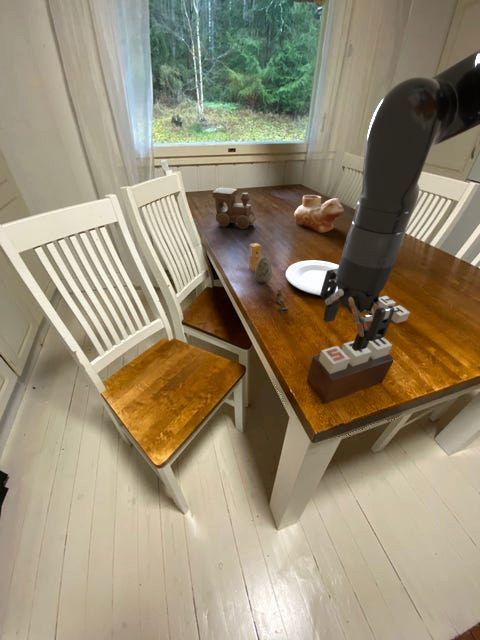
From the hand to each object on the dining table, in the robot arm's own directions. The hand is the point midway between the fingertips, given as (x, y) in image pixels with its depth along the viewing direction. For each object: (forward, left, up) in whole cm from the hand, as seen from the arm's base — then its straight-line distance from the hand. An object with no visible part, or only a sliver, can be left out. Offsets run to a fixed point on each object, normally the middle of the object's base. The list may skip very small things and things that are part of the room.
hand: (342, 333), depth 51 cm
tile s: (0, 0, -9) cm, 9 cm away
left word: (0, -8, -9) cm, 12 cm away
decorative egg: (+47, -7, -17) cm, 50 cm away
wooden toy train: (+105, -18, -17) cm, 108 cm away
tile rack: (0, -5, -17) cm, 17 cm away
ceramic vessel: (+89, -57, -17) cm, 107 cm away
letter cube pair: (+17, -35, -17) cm, 43 cm away
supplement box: (+57, -8, -17) cm, 60 cm away
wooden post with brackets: (+32, -6, -17) cm, 37 cm away
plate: (+41, -27, -17) cm, 52 cm away
